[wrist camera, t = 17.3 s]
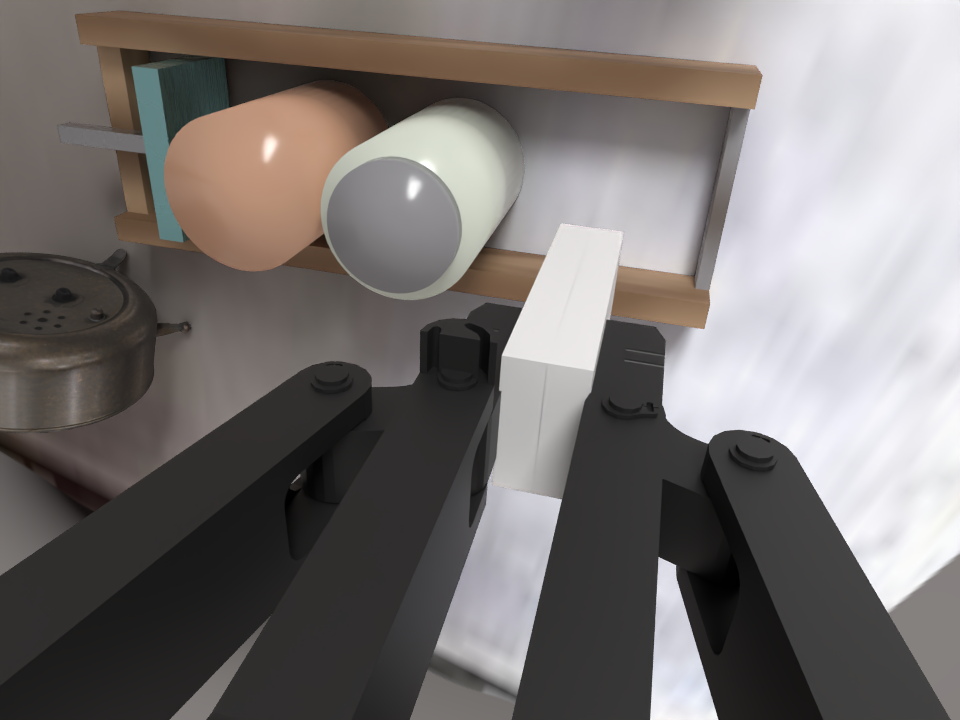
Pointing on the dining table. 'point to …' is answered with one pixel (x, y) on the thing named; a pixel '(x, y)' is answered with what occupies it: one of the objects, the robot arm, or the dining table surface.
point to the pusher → (161, 120)
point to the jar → (422, 198)
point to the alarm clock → (72, 341)
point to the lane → (493, 63)
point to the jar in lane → (264, 171)
